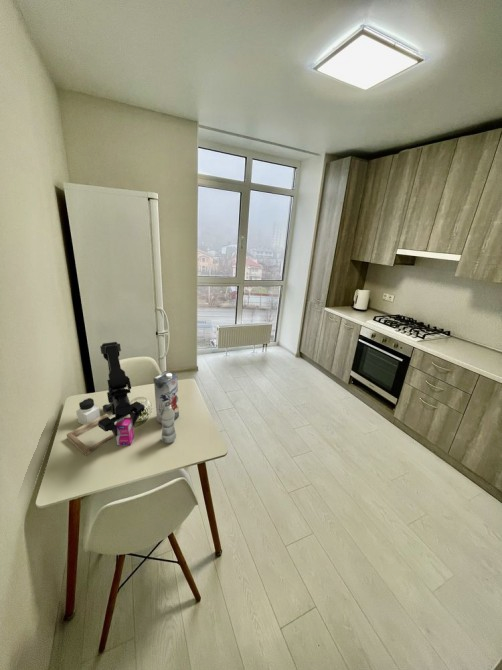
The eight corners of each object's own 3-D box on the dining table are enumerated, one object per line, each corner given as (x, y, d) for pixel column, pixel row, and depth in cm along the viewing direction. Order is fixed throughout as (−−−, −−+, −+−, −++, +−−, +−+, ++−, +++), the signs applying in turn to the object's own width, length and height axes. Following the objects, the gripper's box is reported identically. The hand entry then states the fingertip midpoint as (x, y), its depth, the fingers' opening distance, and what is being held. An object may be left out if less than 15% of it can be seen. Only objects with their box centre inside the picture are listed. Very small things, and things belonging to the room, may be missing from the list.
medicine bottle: (101, 419, 134) (97, 399, 130) (87, 427, 128) (83, 406, 124) (91, 414, 137) (88, 394, 133) (78, 422, 131) (74, 402, 127)
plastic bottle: (179, 437, 125) (177, 401, 118) (170, 447, 119) (168, 410, 112) (167, 433, 127) (165, 398, 120) (158, 443, 121) (155, 406, 114)
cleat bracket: (107, 418, 135) (106, 413, 134) (126, 431, 127) (125, 426, 126) (67, 439, 120) (66, 434, 119) (86, 455, 112) (85, 449, 111)
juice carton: (154, 422, 134) (150, 376, 125) (167, 411, 143) (165, 367, 134) (168, 428, 131) (165, 380, 122) (181, 416, 140) (179, 370, 131)
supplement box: (117, 446, 118) (113, 425, 114) (121, 437, 123) (119, 416, 119) (130, 446, 118) (127, 425, 114) (134, 436, 124) (132, 416, 120)
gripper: (128, 386, 125) (132, 413, 130) (88, 405, 110) (93, 435, 115) (144, 394, 119) (146, 422, 125) (103, 415, 104) (108, 446, 110)
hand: (124, 430), depth 119 cm, fingers closed on supplement box, 8 cm apart
